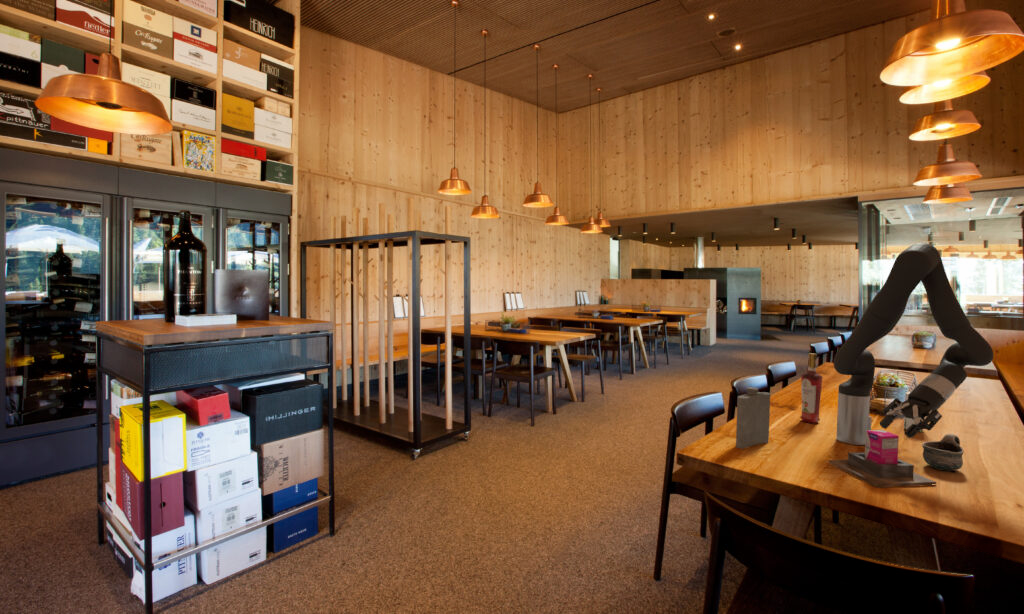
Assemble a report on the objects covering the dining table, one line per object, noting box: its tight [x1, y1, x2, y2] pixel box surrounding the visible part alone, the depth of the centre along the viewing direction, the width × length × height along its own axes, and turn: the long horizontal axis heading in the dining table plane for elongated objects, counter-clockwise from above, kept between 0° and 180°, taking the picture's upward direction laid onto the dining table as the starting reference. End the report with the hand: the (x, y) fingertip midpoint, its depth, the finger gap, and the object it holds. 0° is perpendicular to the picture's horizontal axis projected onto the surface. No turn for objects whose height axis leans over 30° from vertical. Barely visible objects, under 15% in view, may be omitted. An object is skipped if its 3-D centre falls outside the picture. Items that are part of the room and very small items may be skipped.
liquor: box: [799, 352, 823, 424], centre depth 197 cm, size 7×7×28 cm
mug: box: [922, 433, 965, 472], centre depth 149 cm, size 10×12×10 cm
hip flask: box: [735, 386, 771, 450], centre depth 169 cm, size 16×4×20 cm, turn 120°
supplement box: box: [864, 429, 900, 464], centre depth 144 cm, size 6×6×12 cm
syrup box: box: [903, 390, 924, 433], centre depth 187 cm, size 6×6×14 cm
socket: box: [828, 451, 937, 488], centre depth 144 cm, size 18×18×4 cm
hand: (894, 431), depth 144 cm, fingers open, 8 cm apart
